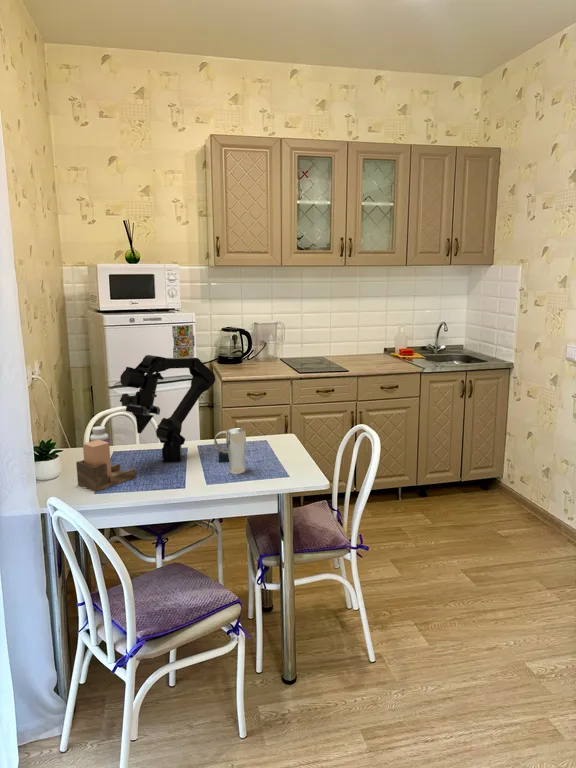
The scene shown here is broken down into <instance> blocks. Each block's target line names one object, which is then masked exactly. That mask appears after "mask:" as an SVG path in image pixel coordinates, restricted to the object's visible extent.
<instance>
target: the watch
mask: <svg viewBox="0 0 576 768" xmlns="http://www.w3.org/2000/svg"><path fill="white" fill-rule="evenodd" d="M222 434H225V436H226V435H227V430H221V431H219V432H217V434H215V436H214V441H213V444H214V446H215V448H216V450H217V451H218V463H229V456H228V452H227V449H221V446H219V445H220V444H219V443H218V441H217V437H218V436H220V435H222Z"/></svg>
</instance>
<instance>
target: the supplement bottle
mask: <svg viewBox="0 0 576 768" xmlns="http://www.w3.org/2000/svg"><path fill="white" fill-rule="evenodd" d="M91 431H92V434H91V435H90V437H89V442H92V441H95V440H101V441H105V442H108V443H109V444H110V438H109V434H108V433H106V426H100V425H99V426H93V427H92V429H91Z"/></svg>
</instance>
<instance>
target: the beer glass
mask: <svg viewBox="0 0 576 768" xmlns="http://www.w3.org/2000/svg"><path fill="white" fill-rule="evenodd" d="M226 431H227V435H226V434H225V436H226V439H225V445H226V450H227V452H228V456H229V462H228V474H231V475H241V473H242V474H245V473H246V471H247V470H246V465H245V457H246V450H247V436H246V435H247V434H246V429H244V428H241V427H240V428H239V427H236V428H235V427H234V428H229V429H227V430H226Z"/></svg>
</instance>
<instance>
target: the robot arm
mask: <svg viewBox="0 0 576 768" xmlns="http://www.w3.org/2000/svg"><path fill="white" fill-rule="evenodd" d="M171 369H188V371H189V373H190V375H191V376H192V378H191V380H190V388H189V389H188V391H186V393H185V395H184V396H183V398H182V399H181V400H180V402H179V404H178V406H177V407H176V408H175V410H174V411H173V413H172V414H171V415H170V417H167V418H166V417H163V418H162V419H161V420H160V421H159V423H158V425H157V426H156V430H155V433H156V437H157V439H159V442H160V443H161V444H163V445H162V448H161V453H162V454H161V455H162V459H163V460H162V462H164V463H165V462H166V463H168V462H169V463H171V462H181V461H182V459H183V452H182V451H183V450H182V445H185V441H186V438H185V437H184V435H182V434H181V433H182V428H183V422H184V421H185V420H186V418H187V417H188V415H189V414H190V413H191V411H192V410H193V408H194V406H195V405H196V404H197V401H198V400H199V398H200V397H201V395H202V394H203V393H205V392H207V391H208V390H210V389H211V387H213V385H214V384H215V382H216V379H217V378H216V375H215V373H214V372H213V371H211V369H210V368H209V367H208V366H207V365H205V364H204V363H203V362H202V361H201V359H200V358H198V357H192V356H189V357H164V356H159V355H151V354H146V355H145V356H144V357H143V358H142V361H141V362H139V363H138V365H137V366H136V367H130V366H126V367H125V370H123V372H122V373H121V375H120V378H119V379H120V380H119V381H120V384H121V386H122V387H128V388H134V389H139V390H138V391H136V392H135V394H133V395H130V394H129V393H122V395H121V397H120V400H119V402H120V403H121V407H125V412H127V413H131V414H132V415H133V416H134V418H135V420H136V430H137V431H136V432H137V434H142V433H143V431H144V430H145V428H146V427H147V426H148V425H149V423H150V422H151V420H152V419H153V417H154V416H155V415H158V416H159V415H160V413H161V409H160V407H159V406H156V405H154V402H155V398H157V395H158V394H156V391H157V387H158V382H159V380H162V381H163V380H165V379H164V377H163V376H162V374H161V372H165V371H167V370H171Z"/></svg>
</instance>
